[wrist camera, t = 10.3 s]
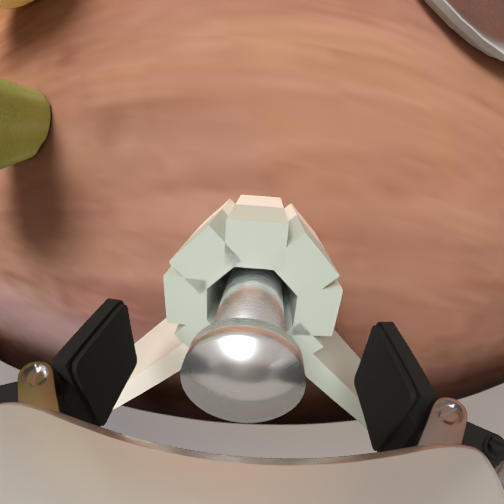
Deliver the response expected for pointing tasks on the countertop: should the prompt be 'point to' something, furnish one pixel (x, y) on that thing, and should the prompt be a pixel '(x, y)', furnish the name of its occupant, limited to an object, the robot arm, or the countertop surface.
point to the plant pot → (21, 122)
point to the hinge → (260, 257)
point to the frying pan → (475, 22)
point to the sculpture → (13, 3)
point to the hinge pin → (246, 354)
